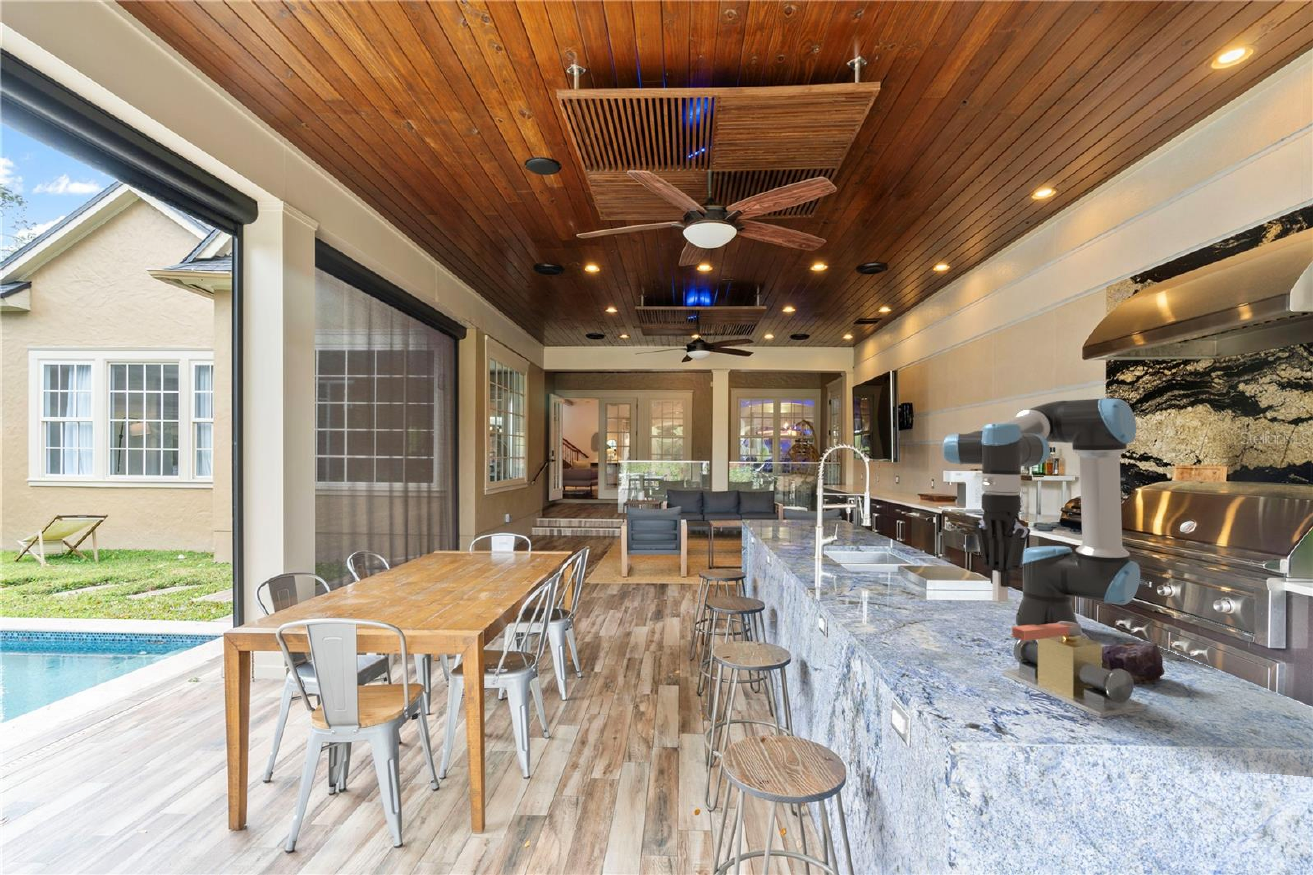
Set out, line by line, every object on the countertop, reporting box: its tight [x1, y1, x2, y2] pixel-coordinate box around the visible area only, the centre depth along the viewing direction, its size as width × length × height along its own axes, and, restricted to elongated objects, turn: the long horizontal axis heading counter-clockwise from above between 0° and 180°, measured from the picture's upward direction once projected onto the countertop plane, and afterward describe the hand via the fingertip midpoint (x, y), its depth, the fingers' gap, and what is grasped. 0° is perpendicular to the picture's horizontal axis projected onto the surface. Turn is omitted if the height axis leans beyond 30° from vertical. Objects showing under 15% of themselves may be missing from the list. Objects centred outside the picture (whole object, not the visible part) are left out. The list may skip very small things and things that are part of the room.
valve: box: [1002, 635, 1146, 719], centre depth 128 cm, size 12×22×12 cm, turn 17°
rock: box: [1102, 641, 1165, 685], centre depth 134 cm, size 12×9×10 cm
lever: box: [1011, 621, 1082, 641], centre depth 126 cm, size 16×4×2 cm, turn 107°
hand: (1000, 600), depth 132 cm, fingers closed
